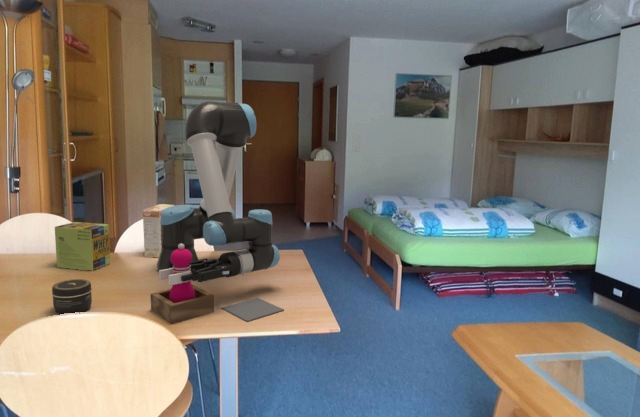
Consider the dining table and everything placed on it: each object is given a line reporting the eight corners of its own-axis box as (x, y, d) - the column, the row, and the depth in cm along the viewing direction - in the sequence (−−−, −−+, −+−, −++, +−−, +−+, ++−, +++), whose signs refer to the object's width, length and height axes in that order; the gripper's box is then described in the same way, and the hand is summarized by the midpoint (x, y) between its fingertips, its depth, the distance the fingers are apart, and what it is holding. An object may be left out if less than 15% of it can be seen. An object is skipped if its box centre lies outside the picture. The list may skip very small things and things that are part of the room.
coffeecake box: (161, 248, 209) (160, 203, 206) (176, 249, 208) (175, 204, 205) (143, 257, 194) (141, 209, 191) (160, 258, 193) (158, 210, 190)
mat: (221, 308, 142) (221, 307, 142) (257, 298, 151) (257, 297, 151) (247, 322, 133) (247, 320, 133) (283, 310, 142) (284, 309, 141)
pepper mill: (200, 308, 142) (199, 242, 138) (186, 317, 135) (184, 247, 131) (179, 305, 144) (177, 239, 141) (164, 313, 137) (162, 245, 134)
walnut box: (151, 310, 139) (150, 293, 139) (191, 299, 148) (191, 284, 148) (172, 323, 130) (171, 306, 129) (214, 312, 139) (214, 295, 138)
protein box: (93, 271, 174) (91, 229, 172) (56, 268, 177) (53, 226, 175) (111, 263, 184) (109, 223, 182) (76, 260, 187) (73, 221, 185)
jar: (65, 302, 144) (64, 278, 142) (99, 303, 143) (97, 279, 142) (45, 315, 134) (44, 289, 132) (81, 316, 133) (79, 290, 132)
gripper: (252, 282, 144) (180, 299, 128) (219, 268, 157) (150, 282, 141) (252, 257, 143) (179, 272, 127) (219, 245, 156) (149, 257, 140)
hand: (164, 277), depth 134 cm, fingers closed on pepper mill, 5 cm apart
